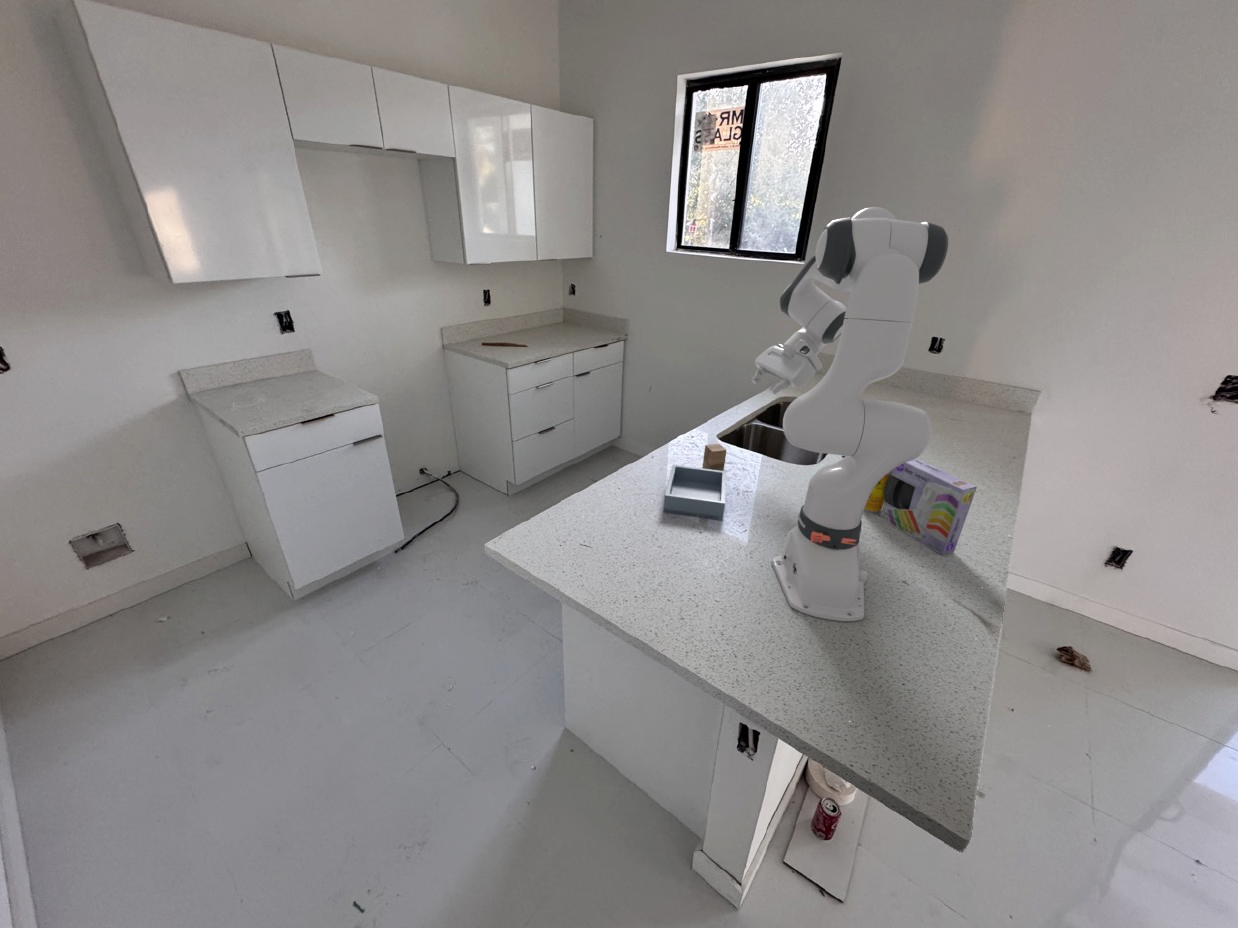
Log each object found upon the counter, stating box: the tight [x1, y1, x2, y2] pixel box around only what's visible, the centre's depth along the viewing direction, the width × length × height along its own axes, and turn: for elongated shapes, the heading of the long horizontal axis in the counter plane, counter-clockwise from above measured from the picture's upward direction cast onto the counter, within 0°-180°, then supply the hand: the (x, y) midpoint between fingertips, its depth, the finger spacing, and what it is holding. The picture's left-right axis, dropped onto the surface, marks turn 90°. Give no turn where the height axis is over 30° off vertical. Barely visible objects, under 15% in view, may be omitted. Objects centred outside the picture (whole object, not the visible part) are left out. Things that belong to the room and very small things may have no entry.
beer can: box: [864, 470, 893, 514], centre depth 130 cm, size 6×6×15 cm
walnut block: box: [702, 443, 727, 471], centre depth 147 cm, size 5×5×8 cm
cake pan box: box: [879, 457, 978, 555], centre depth 119 cm, size 19×5×18 cm, turn 21°
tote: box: [662, 464, 727, 521], centre depth 133 cm, size 18×15×5 cm
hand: (762, 387), depth 141 cm, fingers open, 8 cm apart
